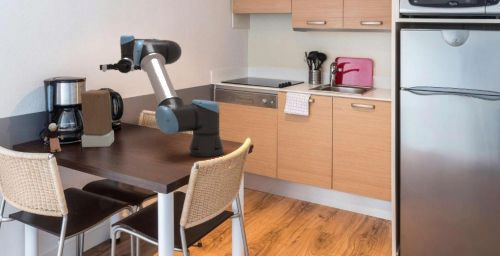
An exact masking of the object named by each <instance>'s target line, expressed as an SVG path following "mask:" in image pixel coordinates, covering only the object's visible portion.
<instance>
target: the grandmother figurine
mask: <svg viewBox="0 0 500 256" xmlns="http://www.w3.org/2000/svg"><path fill="white" fill-rule="evenodd" d="M57 127H58V126H57V124H56V123H55V122H52V123H50V124H49V125H48V130H50V131H49V132H47V133H46V135H45V136H44V139H43V140H44V141H45V142H46V141H48V139H49V147H50V152H51V153H56V152H61V151H62V149H61V144H60V140H64V137H63V134H61V133H60V131H57ZM59 138H60V140H59Z"/></svg>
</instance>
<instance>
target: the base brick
mask: <svg viewBox="0 0 500 256" xmlns="http://www.w3.org/2000/svg"><path fill="white" fill-rule="evenodd" d="M114 132H115V131H114V130H113V129H112V131H110V132H109V133H107V134H105V135H85V134H84V133H83V135H81V147H82V148H96V147H97V148H99V147H101V148H102V147H103V148H104V147H106V148H107V147H110V146H111V145H112V144H113V143H114V141H115V133H114Z"/></svg>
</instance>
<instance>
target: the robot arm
mask: <svg viewBox="0 0 500 256" xmlns="http://www.w3.org/2000/svg"><path fill="white" fill-rule="evenodd" d="M119 38H120V39H119V45H120V59H119V60H118V62H117V63H116V62H115V63H108V64H99V70H100V71H102V72H104V73H105V72H107V71H110V70H111V71H112V70H113V71H119V72H120V73H121V74H128V73H130V72H135V71H138V70H139V71H141V70H142V71H143V72H145V73H146V75H147V77H148V80H149V82H150V85H151V87H152V90H153V93H154V95H155V97H156V101H157V102H158V103H157V108H156V109H155V116H154V117H155V120H156V125H157V128H158V129H159V130H160V132H162V133H164V134H179V133H186V132H192V137H191V141H190V144H189V147H188V148H189V149H188V152H189V155H191V156H194V157H201V158H203V157H204V158H205V157H207V158H209V157H218V156H220V155H222V154H224V144H223V141H222V139H221V136H220V135H221V134H220V113H221V112H220V105H219V103H218V102H216V101H213V100H207V99H192V101H191V103H185V102H184V100H183V98H182V97H179V96H178V94H177V92H176V90H175V88H174V85H173V83H172V80H171V78H170V76H169V74H168V71H167V69H166V67H165V66H166V65H172V64H174V63H176V62H177V61H178V60H179V59H180V58H181V57H182V47H181V46H180V44H179V43H177V42H176V41H174V40H168V39H159V38H135V35H128V34H126V35H125V34H124V35H120V37H119Z"/></svg>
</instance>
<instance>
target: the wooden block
mask: <svg viewBox="0 0 500 256" xmlns="http://www.w3.org/2000/svg"><path fill="white" fill-rule="evenodd" d="M80 102H81V113H82V126H83V135H84V134H85V135H105V134H107V133H109V132H110V131H112V130H113V128H112V127H113V126H112V111H111V109H112V108H111V94H110V90H108V89H107V90H106V89H104V90H103V89H89V90H85V91H82V92H81V94H80Z"/></svg>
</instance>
